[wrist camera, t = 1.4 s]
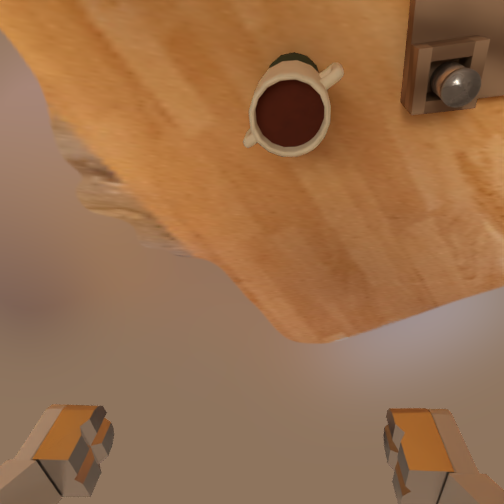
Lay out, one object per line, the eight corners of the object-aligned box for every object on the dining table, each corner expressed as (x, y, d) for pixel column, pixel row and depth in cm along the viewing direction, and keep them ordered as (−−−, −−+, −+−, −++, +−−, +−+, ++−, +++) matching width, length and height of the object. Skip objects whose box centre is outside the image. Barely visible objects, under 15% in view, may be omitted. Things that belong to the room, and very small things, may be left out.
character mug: (273, 136, 44) (264, 183, 34) (236, 87, 41) (215, 124, 31) (351, 77, 39) (368, 112, 29) (315, 17, 36) (321, 33, 26)
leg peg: (431, 62, 34) (444, 71, 31) (467, 57, 33) (485, 66, 30) (426, 97, 36) (438, 109, 33) (460, 93, 35) (476, 105, 32)
